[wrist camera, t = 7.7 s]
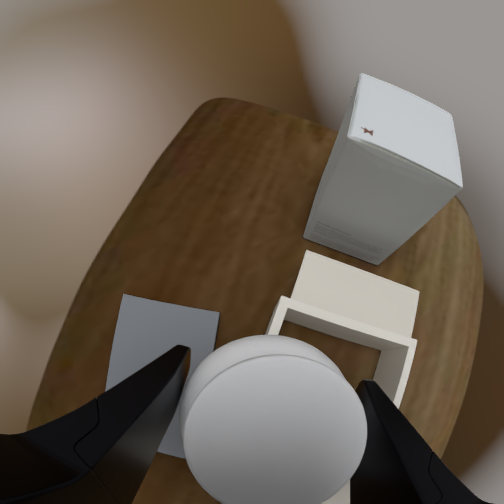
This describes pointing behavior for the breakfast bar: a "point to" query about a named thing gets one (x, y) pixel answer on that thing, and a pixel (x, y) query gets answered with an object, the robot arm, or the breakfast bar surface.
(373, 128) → the supplement box
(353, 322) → the carton
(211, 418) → the supplement bottle
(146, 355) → the mat
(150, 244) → the breakfast bar surface
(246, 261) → the breakfast bar surface
